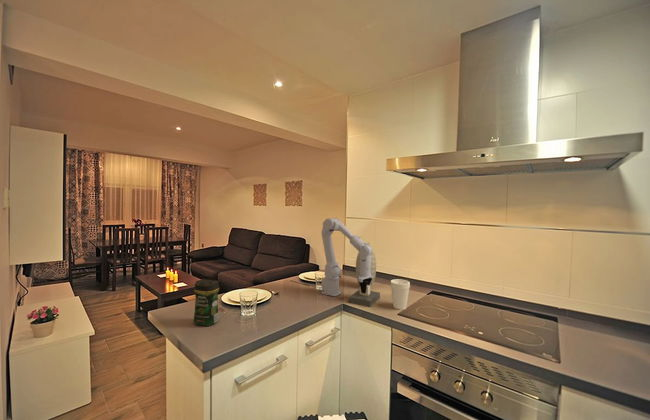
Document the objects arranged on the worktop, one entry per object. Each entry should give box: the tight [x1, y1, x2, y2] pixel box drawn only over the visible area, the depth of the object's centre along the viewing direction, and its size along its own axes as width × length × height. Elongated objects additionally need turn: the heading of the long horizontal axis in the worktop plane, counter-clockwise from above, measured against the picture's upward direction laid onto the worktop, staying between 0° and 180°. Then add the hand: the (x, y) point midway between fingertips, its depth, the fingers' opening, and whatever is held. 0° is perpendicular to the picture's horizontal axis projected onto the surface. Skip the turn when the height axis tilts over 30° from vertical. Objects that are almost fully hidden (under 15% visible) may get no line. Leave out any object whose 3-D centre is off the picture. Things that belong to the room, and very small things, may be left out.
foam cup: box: [390, 278, 411, 310], centre depth 136 cm, size 10×9×13 cm
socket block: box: [348, 288, 381, 308], centre depth 146 cm, size 12×16×3 cm
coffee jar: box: [193, 278, 220, 327], centre depth 115 cm, size 10×8×19 cm
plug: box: [359, 285, 371, 296], centre depth 146 cm, size 5×3×8 cm
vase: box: [355, 242, 377, 289], centre depth 169 cm, size 13×13×28 cm
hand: (364, 292), depth 146 cm, fingers closed on plug, 3 cm apart
